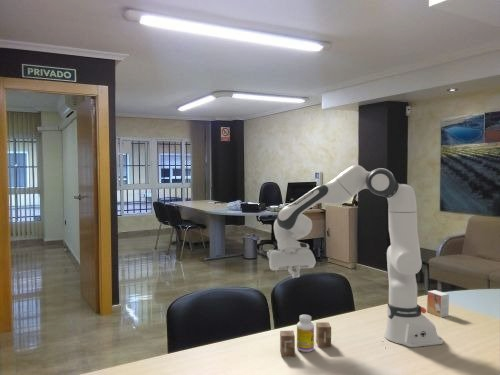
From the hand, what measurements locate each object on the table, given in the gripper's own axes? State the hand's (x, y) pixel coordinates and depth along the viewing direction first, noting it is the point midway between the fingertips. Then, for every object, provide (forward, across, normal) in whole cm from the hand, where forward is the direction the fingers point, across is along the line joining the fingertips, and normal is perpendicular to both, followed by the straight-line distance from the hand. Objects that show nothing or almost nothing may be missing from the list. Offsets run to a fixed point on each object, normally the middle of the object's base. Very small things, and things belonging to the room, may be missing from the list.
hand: (296, 276), depth 170 cm
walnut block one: (+25, +8, +11) cm, 28 cm away
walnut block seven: (+28, -9, +8) cm, 31 cm away
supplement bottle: (+27, -1, +9) cm, 28 cm away
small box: (+12, +75, +24) cm, 80 cm away
